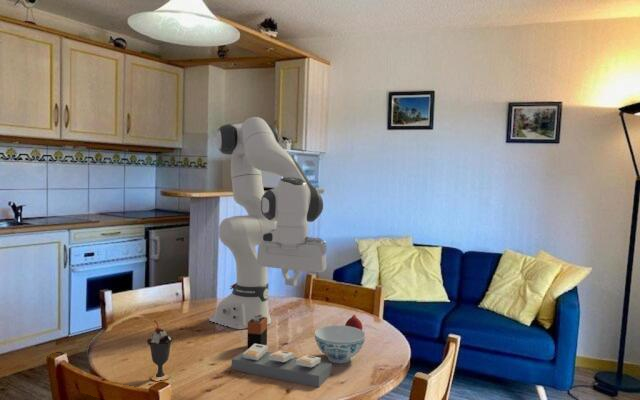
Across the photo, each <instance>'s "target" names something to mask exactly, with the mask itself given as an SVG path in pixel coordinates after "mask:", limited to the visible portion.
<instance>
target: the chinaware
mask: <svg viewBox="0 0 640 400" xmlns="http://www.w3.org/2000/svg"><path fill="white" fill-rule="evenodd" d="M314 338H315V342H316V345H317V347H318V349H319V351H321V353H322V354H323V355H325V356H326V357H327V359H328V361H329V362H330V363H335V364H346V363H348V362H350V361H351V360H352V358H353V357H354V356H356V355H357V354H358V353H359V352H360V350H361V349H362V347H363V345H364V344H365V339H366V333H365V331H364V330H363V329H362V330H360V329H358V328H355V327H350V326H345V325H339V324H338V325H326V326H322V327H319V328H317V329H316V330H315V331H314Z"/></svg>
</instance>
